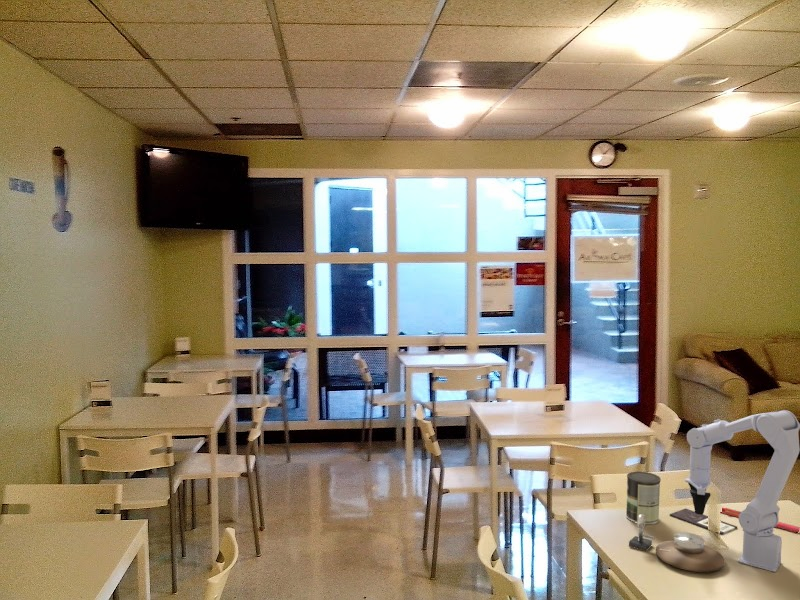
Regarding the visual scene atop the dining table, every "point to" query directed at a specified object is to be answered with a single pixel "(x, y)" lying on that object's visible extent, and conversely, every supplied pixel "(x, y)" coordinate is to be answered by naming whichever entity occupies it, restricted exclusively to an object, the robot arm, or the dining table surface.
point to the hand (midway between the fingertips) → (698, 509)
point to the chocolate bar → (700, 520)
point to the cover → (688, 543)
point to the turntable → (690, 558)
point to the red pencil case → (779, 525)
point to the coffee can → (643, 496)
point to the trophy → (641, 536)
